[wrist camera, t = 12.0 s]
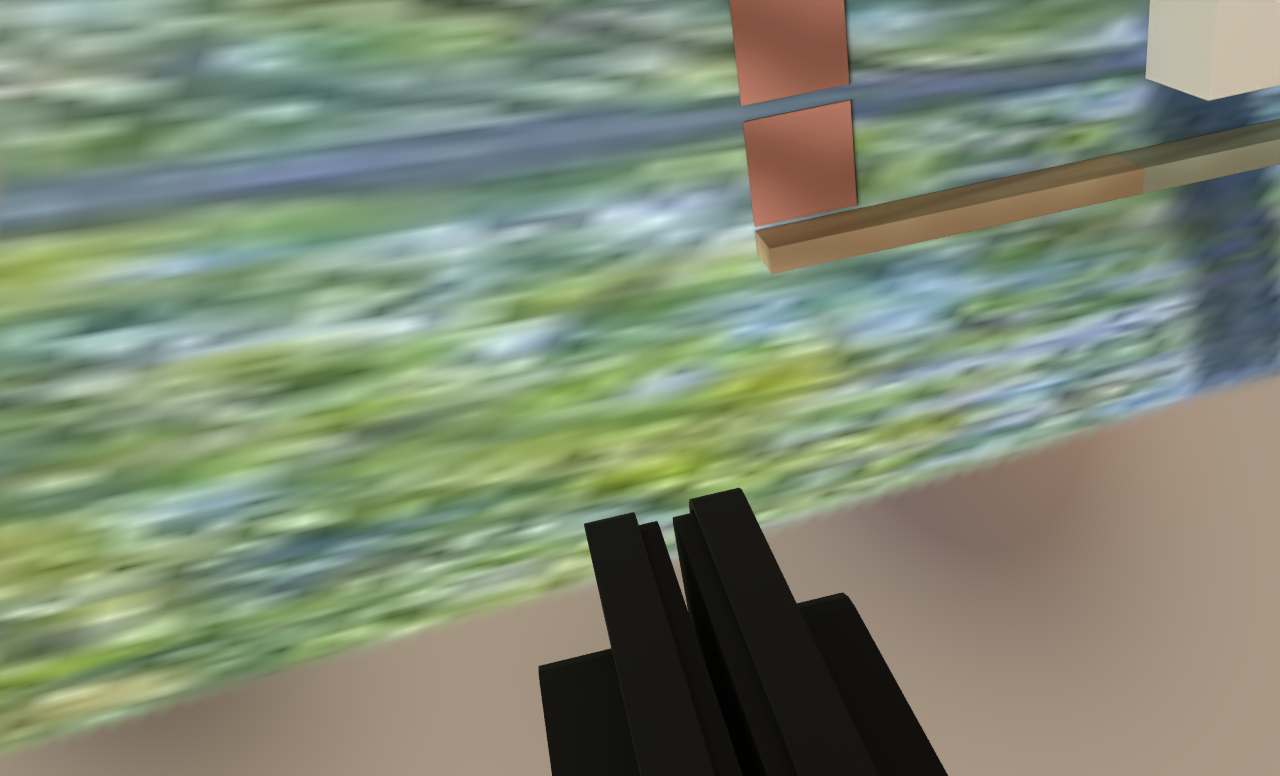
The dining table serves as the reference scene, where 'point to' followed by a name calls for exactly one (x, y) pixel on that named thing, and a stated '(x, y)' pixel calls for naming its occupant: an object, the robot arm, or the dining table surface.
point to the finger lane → (825, 180)
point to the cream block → (1214, 46)
